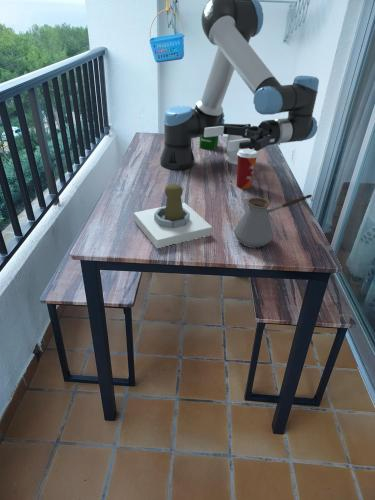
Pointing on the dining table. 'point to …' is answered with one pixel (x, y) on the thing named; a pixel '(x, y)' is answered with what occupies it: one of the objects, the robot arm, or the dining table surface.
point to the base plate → (169, 233)
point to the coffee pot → (258, 222)
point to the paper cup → (245, 167)
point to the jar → (233, 154)
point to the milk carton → (208, 142)
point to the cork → (173, 202)
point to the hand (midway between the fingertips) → (216, 139)
